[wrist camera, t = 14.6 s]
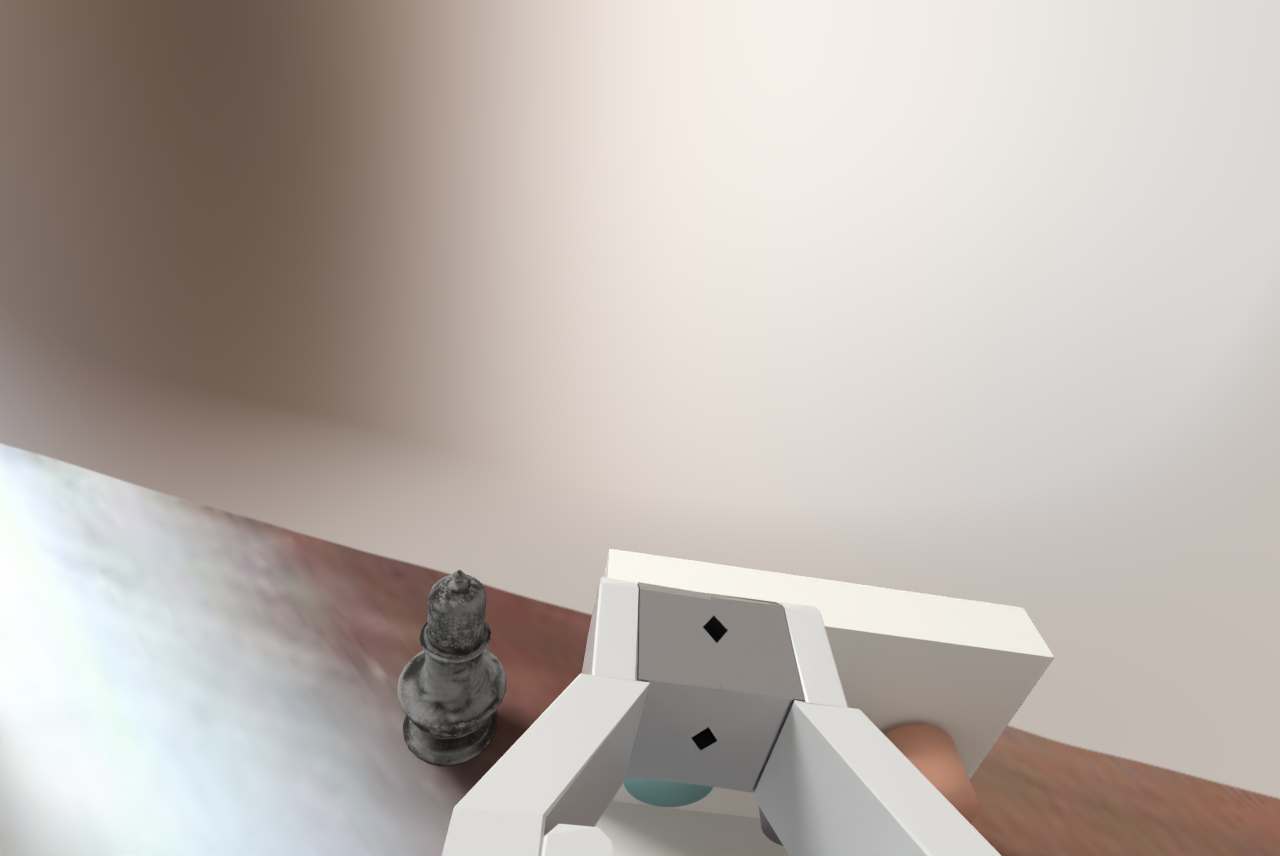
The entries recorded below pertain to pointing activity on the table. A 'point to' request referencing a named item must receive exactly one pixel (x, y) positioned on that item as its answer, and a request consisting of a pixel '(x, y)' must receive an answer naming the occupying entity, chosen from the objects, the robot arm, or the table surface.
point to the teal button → (665, 792)
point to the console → (848, 685)
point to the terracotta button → (938, 764)
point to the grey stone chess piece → (452, 677)
